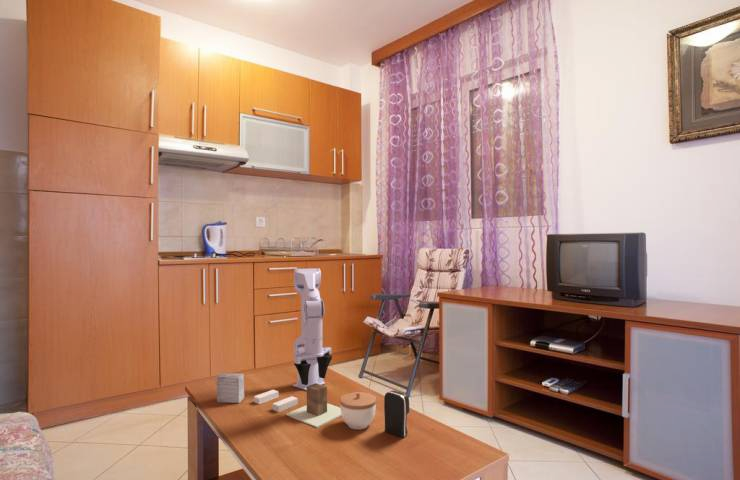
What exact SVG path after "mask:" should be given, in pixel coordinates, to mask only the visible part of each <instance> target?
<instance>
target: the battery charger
mask: <svg viewBox="0 0 740 480" xmlns="http://www.w3.org/2000/svg"><path fill="white" fill-rule="evenodd" d="M383 397H384V400H383V407H384V408H383V413H384V431H385V432H387V433H389V434H391V435H393V436H397V437H399V438H405V437H406V436H407V435H408V430H407V419H408V418H407V417H408V414H409V413H410V397H409V396H408V394H406V393H404V392H401V391H396V390H390V391H387V392H386V393H385V394H384V396H383Z"/></svg>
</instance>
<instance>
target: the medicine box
mask: <svg viewBox="0 0 740 480" xmlns="http://www.w3.org/2000/svg"><path fill="white" fill-rule="evenodd" d="M244 377H245V375H244V373H230V372H229V373H221V374H219V375H217V377H216V403H223V404H224V403H230V404H240V403H241V402H242V401H243V400H244V399H245V378H244Z"/></svg>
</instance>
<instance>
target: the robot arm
mask: <svg viewBox="0 0 740 480" xmlns="http://www.w3.org/2000/svg"><path fill="white" fill-rule="evenodd" d="M321 282H322V272H321V269H320V267H318V268H294V270H293V288H294V291H297V292H298V293H299V295H300V312H301V313H300V320H301V322H300V323H301V324H300V325H301V328H300V329H301V331H300V332H301V334H300V336H299V337H297V338H296V339H295V340H294V343H293V365H294V366H295V368H296V369H297V382H296V383H293V384H292V386H293V387H295V388H297V389H301V390H305V391H307V386H310V385H313V384H315V383H317V384H320V385H323V386H324V385H325V384H326V382H325V381H324V379H325V378H326V375H327V371H328V367H329V366H330V363H331V361H332V359H333V356H332V355H331V354H332V347H331V346H330V347H328V346H326V347H323V319H324V317H325V303H324V300H323V299H322V298H321V293H320V290H319V288H320V286H321Z"/></svg>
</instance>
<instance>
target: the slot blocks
mask: <svg viewBox="0 0 740 480" xmlns="http://www.w3.org/2000/svg"><path fill="white" fill-rule="evenodd" d="M279 397H280V396H279V390H275V389H270V390H268V391H265V392H262V393H260V394H256V395H254V396H253V403H255V404H257V405H262V404H265V403H268V402H270V401H273V400H274V399H278V398H279ZM297 405H299V398H298V397H295V396H288V397H287V398H284V399H280V400H277V401H276V402H273V403H272V411H275V412H277V413H280V412H283V411H285V410H287V409H290V408H292V407H295V406H297Z"/></svg>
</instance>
